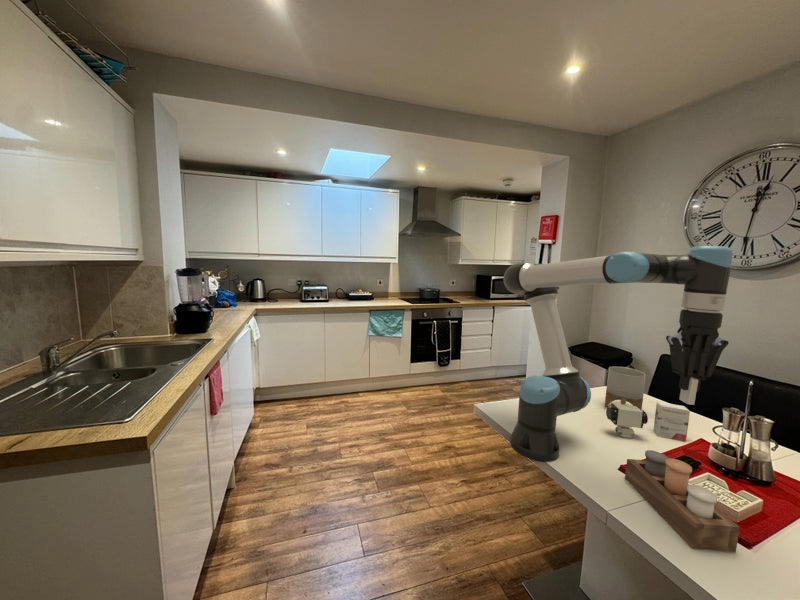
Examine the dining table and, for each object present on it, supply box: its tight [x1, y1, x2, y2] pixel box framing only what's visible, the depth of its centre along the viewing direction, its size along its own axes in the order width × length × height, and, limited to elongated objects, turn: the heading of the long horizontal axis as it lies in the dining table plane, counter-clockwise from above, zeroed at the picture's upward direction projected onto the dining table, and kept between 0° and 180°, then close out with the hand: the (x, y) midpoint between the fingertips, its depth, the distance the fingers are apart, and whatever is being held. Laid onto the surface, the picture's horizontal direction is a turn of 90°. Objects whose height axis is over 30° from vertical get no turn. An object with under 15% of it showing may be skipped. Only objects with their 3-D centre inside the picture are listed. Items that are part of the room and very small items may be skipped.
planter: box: [604, 366, 647, 410], centre depth 136 cm, size 13×13×18 cm
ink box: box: [653, 401, 691, 443], centre depth 116 cm, size 9×5×12 cm, turn 65°
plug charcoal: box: [644, 449, 669, 477], centre depth 86 cm, size 5×5×9 cm
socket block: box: [624, 458, 741, 553], centre depth 80 cm, size 9×23×6 cm, turn 176°
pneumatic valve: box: [605, 402, 649, 439], centre depth 115 cm, size 6×12×12 cm, turn 79°
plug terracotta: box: [664, 457, 693, 496], centre depth 79 cm, size 5×5×9 cm
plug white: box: [686, 484, 718, 519], centre depth 72 cm, size 5×5×9 cm
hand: (686, 402), depth 80 cm, fingers closed
